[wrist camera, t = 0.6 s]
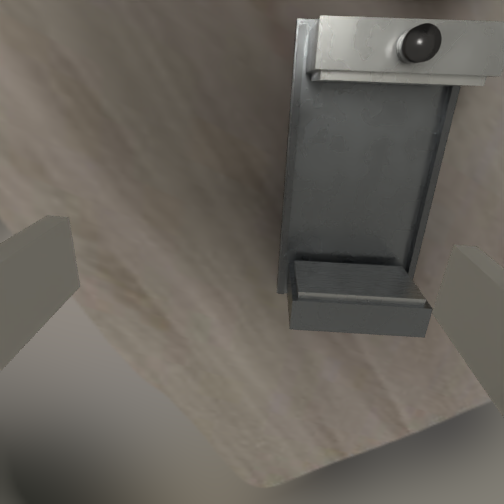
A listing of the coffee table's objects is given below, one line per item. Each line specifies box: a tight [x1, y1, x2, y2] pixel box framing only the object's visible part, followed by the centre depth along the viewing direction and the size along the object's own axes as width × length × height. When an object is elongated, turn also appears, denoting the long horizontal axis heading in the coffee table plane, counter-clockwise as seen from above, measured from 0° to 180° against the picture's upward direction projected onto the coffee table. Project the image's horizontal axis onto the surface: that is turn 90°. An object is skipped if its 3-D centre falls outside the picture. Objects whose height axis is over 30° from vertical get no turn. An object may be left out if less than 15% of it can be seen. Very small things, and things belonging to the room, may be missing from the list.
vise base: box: [277, 19, 460, 337], centre depth 32 cm, size 26×14×10 cm, turn 178°
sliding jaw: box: [305, 16, 504, 86], centre depth 26 cm, size 4×12×10 cm, turn 88°
